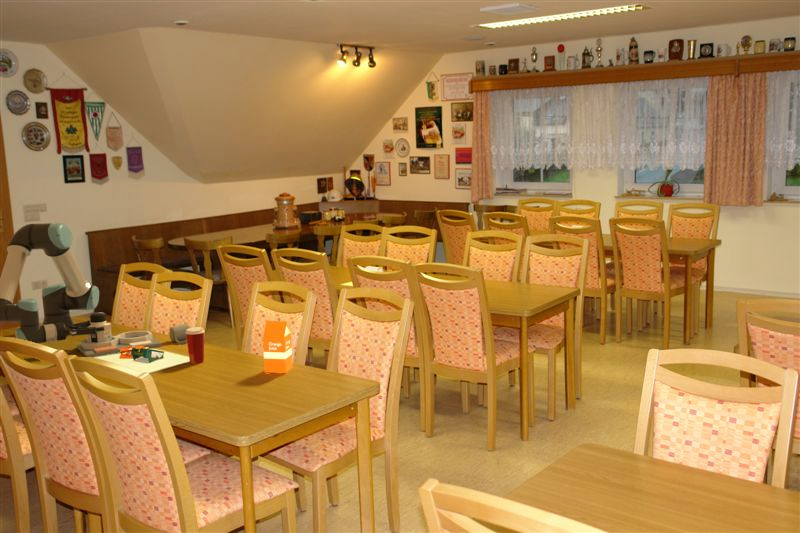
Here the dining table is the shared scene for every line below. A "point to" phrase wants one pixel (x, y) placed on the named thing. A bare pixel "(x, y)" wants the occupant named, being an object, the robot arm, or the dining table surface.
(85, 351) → the ring board
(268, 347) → the orange juice
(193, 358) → the paper cup
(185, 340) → the ceramic mug
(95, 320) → the container
